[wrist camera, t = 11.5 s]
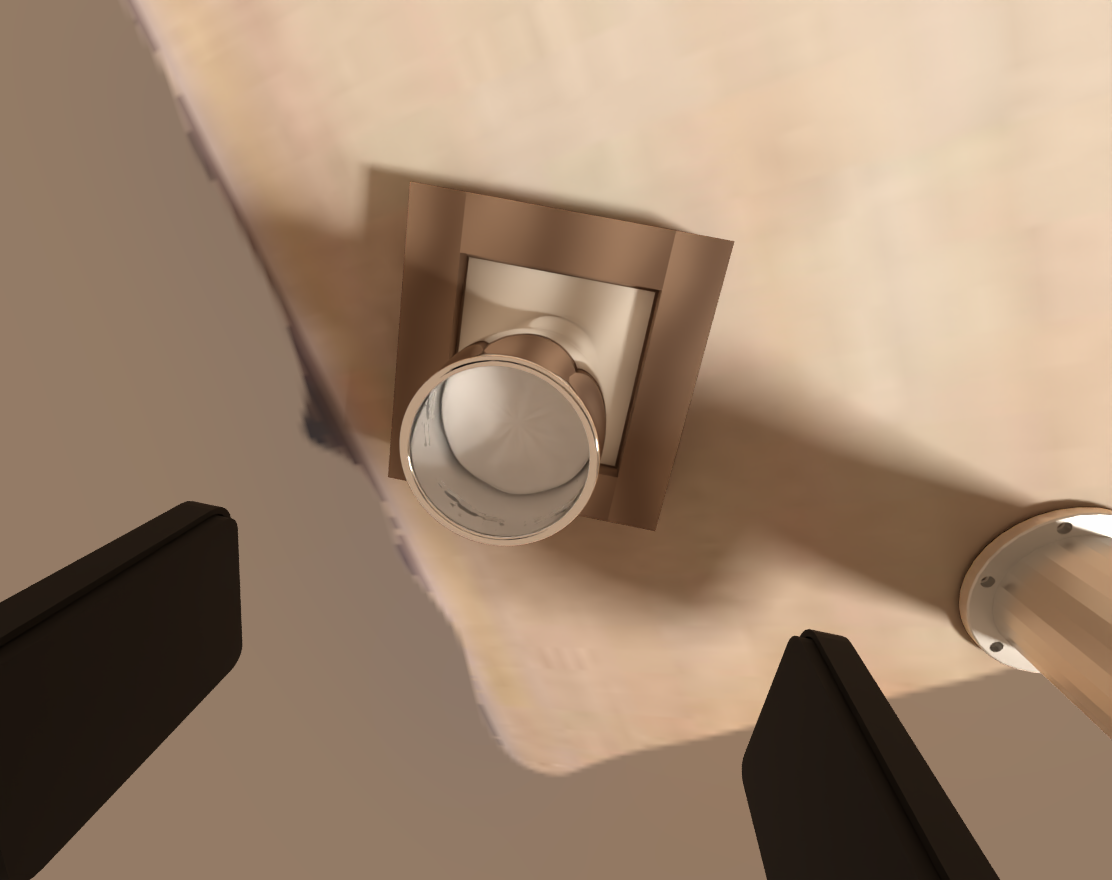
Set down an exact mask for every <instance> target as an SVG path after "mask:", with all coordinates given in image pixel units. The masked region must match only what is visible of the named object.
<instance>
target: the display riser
mask: <svg viewBox="0 0 1112 880" xmlns="http://www.w3.org/2000/svg"><path fill="white" fill-rule="evenodd" d="M733 245H734V241H730V240H724V239H719V238H713V237H708V236H703V235H697V234H692V233H686V232H681V231H676V230H670V229H665V228H659V227H654V226H649V225H643V224H638V223H633V222H627V221H622V220H616V219H611V218H606V217H600V216H595V215H589V214H584V213H579V212H573V211H568V210H562V209H557V208H552V207H546V206H541V205H535V204H530V203H525V202H519V201H514V200H508V199H503V198H498V197H492V196H487V195H482V194H476V193H471V192H465V191H460V190H455V189H449V188H444V187H438V186H433V185H428V184H422V183H417V182H411V181H410V188H409V202H408V216H407V229H406V243H405V256H404V270H403V283H402V297H401V310H400V324H399V337H398V351H397V364H396V378H395V391H394V405H393V418H392V432H391V445H390V459H389V472H388V477H390V478H395V479H400V480H405V481H407V480H406V477H405V474H404V471H403V468H402V464H401V458H400V448H399V439H400V430H401V425H402V421H403V418H404V415H405V412H406V410H407V407H408V405H409V403H410V401H411V400H412V398H413V396H414V395H415V393H416V392H417V391H418V389H419V388H420V387H421V386H422V385H423V384H424V383H425V382H426V381H427V380H428V379H429V378H430V377H431V376H433V375H434V374H435V373H436V372H437V371H438V370H439V369H440V368H441V367H442V366H443V365H444V364H445V363H446V362H447V361H448V360H449V359H450V358H452V357H453V356H454V355H455V354H457V353H458V352H459V351H461V350H462V349H463V348H465V347H466V346H467V345H469V344H471V343H472V342H474V341H476V340H478V339H480V338H482V337H485V336H487V335H489V334H492V333H494V332H497V331H501V330H506V329H513V328H514V327H515V326H516V325H518V324H519V323H521V322H523V321H525V320H527V319H529V318H533V317H537V316H557V317H561V318H564V319H567V320H569V321H571V322H573V323H574V324H576V325H577V326H579V327H580V328H581V329H582V330H583V331H584V332H585V333H586V334H587V335H588V337H589V338H590V339H591V341H592V343H593V345H594V347H595V349H596V352H597V355H598V360H599V376H598V378H599V380H600V383H601V385H602V389H603V392H604V397H605V404H606V413H607V427H606V437H605V444H604V449H603V454H602V458H601V462H600V467H599V474H598V478H597V482H596V485H595V488H594V490H593V493H592V495H591V497H590V499H589V501H588V502H587V504H586V505H585V507H584V508H583V510H582V511H581V512H580V513H579V515H578V516H583V517H588V518H593V519H598V520H603V521H608V522H613V523H618V524H623V525H628V526H633V527H638V528H643V529H648V530H653V531H655V530H656V526H657V522H658V519H659V515H660V511H661V508H662V504H663V500H664V497H665V493H666V489H667V486H668V482H669V478H670V475H671V471H672V468H673V464H674V460H675V457H676V453H677V449H678V446H679V442H680V438H681V435H682V431H683V427H684V424H685V420H686V416H687V413H688V409H689V405H690V402H691V398H692V394H693V391H694V387H695V383H696V380H697V376H698V372H699V369H700V365H701V362H702V358H703V354H704V351H705V347H706V343H707V340H708V336H709V332H710V329H711V325H712V321H713V318H714V314H715V310H716V307H717V303H718V299H719V296H720V292H721V288H722V285H723V281H724V277H725V274H726V270H727V266H728V263H729V259H730V255H731V252H732V248H733Z"/></svg>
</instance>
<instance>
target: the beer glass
mask: <svg viewBox="0 0 1112 880" xmlns="http://www.w3.org/2000/svg"><path fill="white" fill-rule="evenodd" d="M598 376H599V360H598V355H597V352H596V349H595V347H594V345H593V343H592V341H591V339H590V338H589V337H588V335H587V334H586V333H585V332H584V331H583V330H582V329H581V328H580V327H579V326H577V325H576V324H574V323H573V322H571V321H569V320H567V319H564V318H561V317H557V316H537V317H533V318H529V319H527V320H525V321H523V322H521V323H519V324H518V325H516V326H515V327H514V328H513V329H506V330H501V331H497V332H494V333H492V334H489V335H487V336H485V337H482V338H480V339H478V340H476V341H474V342H472V343H471V344H469V345H467V346H466V347H465V348H463V349H462V350H461V351H459V352H458V353H457V354H455V355H454V356H453V357H452V358H450V359H449V360H448V361H447V362H446V363H445V364H444V365H443V366H442V367H441V368H440V369H439V370H438V371H437V372H436V373H435V374H434V375H433V376H431V377H430V378H429V379H428V380H427V381H426V382H425V383H424V384H423V385H422V386H421V387H420V388H419V389H418V391H417V392H416V393H415V395H414V396H413V398H412V400H411V401H410V403H409V405H408V407H407V410H406V412H405V415H404V418H403V421H402V425H401V430H400V439H399V448H400V458H401V464H402V468H403V471H404V474H405V477H406V480H407V482H408V484H409V486H410V488H411V490H412V492H413V494H414V495H415V497H416V498H417V500H418V501H419V503H420V504H421V505H422V506H423V508H424V509H425V510H426V511H427V512H428V513H429V514H430V515H431V516H432V517H433V518H434V519H435V520H437V521H438V522H439V523H440V524H442V525H443V526H444V527H446V528H447V529H449V530H451V531H452V532H454V533H456V534H458V535H460V536H462V537H465V538H467V539H470V540H472V541H476V542H479V543H483V544H488V545H496V546H518V545H525V544H530V543H534V542H537V541H540V540H543V539H545V538H547V537H550V536H552V535H554V534H555V533H557V532H559V531H560V530H562V529H563V528H565V527H566V526H567V525H568V524H570V523H571V522H572V521H573V520H574V519H575V518H576V517H577V516H578V515H579V513H580V512H581V511H582V510H583V508H584V507H585V505H586V504H587V502H588V501H589V499H590V497H591V495H592V493H593V490H594V488H595V485H596V482H597V478H598V474H599V467H600V462H601V458H602V454H603V449H604V444H605V437H606V427H607V413H606V404H605V397H604V392H603V389H602V385H601V383H600V380H599V378H598Z"/></svg>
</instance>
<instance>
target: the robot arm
mask: <svg viewBox="0 0 1112 880" xmlns="http://www.w3.org/2000/svg"><path fill="white" fill-rule="evenodd" d="M959 609H960V616H961V620H962V622H963V624H964V627H965V629H966V631H967V633H968V634H969V635H970V636H971V638H972V639H973V640H974V641H975V643H976V644H977V645H978V646H979V647H980V648H981V649H982V650H983V651H984V652H985V653H986V654H988V655H989V656H991V657H992V658H994V659H995V660H997V661H999V662H1000V663H1002V664H1005V665H1007V666H1010V667H1012V668H1015V669H1018V670H1023V671H1028V672H1033V673H1042V674H1043V675H1044V676H1045V677H1046V678H1047V679H1048V680H1049V681H1050V682H1051V683H1052V684H1053V685H1054V686H1055V687H1056V688H1057V689H1058V690H1060V691H1061V692H1062V693H1063V694H1064V695H1065V696H1066V697H1067V698H1068V699H1069V700H1070V701H1071V702H1072V703H1073V704H1074V705H1075V706H1076V707H1077V708H1079V709H1080V710H1081V711H1082V712H1083V713H1084V714H1085V715H1086V716H1087V717H1088V718H1089V719H1090V720H1091V721H1092V722H1093V723H1094V724H1096V725H1097V726H1098V727H1099V728H1100V729H1101V730H1102V731H1103V732H1104V733H1105V734H1106V735H1107V736H1108V737H1109V738H1110V739H1111V740H1112V510H1108V509H1103V508H1091V507H1076V508H1068V509H1060V510H1055V511H1052V512H1048V513H1045V514H1041V515H1037V516H1035V517H1033V518H1030V519H1028V520H1026V521H1023V522H1021V523H1019V524H1017V525H1015V526H1014V527H1012V528H1010V529H1009V530H1007V531H1006V532H1004V533H1002V534H1001V535H999V536H998V537H997V538H996V539H995V540H994V541H992V542H991V543H990V544H989V545H988V546H986V547H985V549H984V550H983V551H982V552H981V553H980V554H979V556H978V557H977V558H976V559H975V560H974V561H973V563H972V565H971V567H970V568H969V570H968V572H967V574H966V575H965V578H964V581H963V584H962V587H961V590H960V598H959ZM241 650H242V626H241V600H240V575H239V550H238V527H237V523H236V521H235V520H234V519H232V518H231V517H230V514H229V512H228V511H227V510H226V509H225V508H223V507H218V506H213V505H208V504H203V503H199V502H194V501H187V502H184V503H181V504H180V505H178V506H176V507H174V508H172V509H170V510H169V511H167V512H165V513H163V514H161V515H159V516H158V517H156V518H154V519H152V520H150V521H148V522H147V523H145V524H143V525H141V526H139V527H138V528H136V529H134V530H132V531H130V532H128V533H127V534H125V535H123V536H121V537H119V538H117V539H116V540H114V541H112V542H110V543H108V544H107V545H105V546H103V547H101V548H99V549H97V550H95V551H94V552H92V553H90V554H88V555H87V556H84V557H83V558H81V559H79V560H77V561H75V562H73V563H72V564H70V565H68V566H66V567H64V568H63V569H61V570H59V571H57V572H55V573H54V574H52V575H50V576H48V577H46V578H44V579H42V580H41V581H39V582H37V583H35V584H33V585H31V586H30V587H28V588H26V589H24V590H22V591H21V592H19V593H17V594H15V595H13V596H11V597H10V598H8V599H6V600H4V601H2V602H1V603H0V880H30V879H31V878H33V877H34V876H35V875H36V874H37V873H38V872H39V871H41V870H42V869H43V868H44V867H45V865H46V864H47V863H48V862H49V861H50V860H51V859H52V858H53V857H54V856H55V855H56V854H57V853H58V852H59V851H60V850H61V849H62V848H63V847H64V845H65V844H66V843H67V842H68V841H69V840H70V839H71V838H72V837H73V836H74V835H75V834H76V833H77V832H78V831H79V830H80V829H81V827H83V826H84V824H85V823H86V822H87V821H88V820H89V819H90V818H91V817H92V816H93V815H94V814H95V813H96V812H97V811H98V810H99V808H101V807H102V806H103V804H104V803H105V802H106V801H107V800H108V799H109V798H110V797H111V796H112V795H113V794H114V793H115V792H116V791H117V790H118V789H119V788H120V787H121V786H122V784H123V783H124V782H125V781H126V780H127V779H128V778H129V777H130V776H131V775H132V774H133V773H134V772H135V771H136V770H137V769H138V768H139V767H140V766H141V764H142V763H143V762H144V761H145V760H146V759H147V758H148V757H149V756H150V755H151V754H152V753H153V752H154V751H155V750H156V749H157V748H158V747H159V745H160V744H161V743H162V742H163V741H164V740H165V739H166V738H167V737H168V736H169V735H170V734H171V733H172V732H173V731H174V730H175V729H176V728H177V727H178V725H179V724H180V723H181V722H182V721H183V720H184V719H185V718H186V717H187V716H188V715H189V714H190V713H191V712H192V711H193V710H194V709H195V708H196V706H197V705H198V704H199V703H200V702H201V701H202V700H203V699H204V698H205V697H206V696H207V695H208V694H209V693H210V692H211V691H212V689H214V688H215V686H216V685H217V684H218V683H219V682H220V681H221V680H222V679H223V678H224V677H225V676H226V675H227V674H228V673H229V672H230V671H231V670H232V668H233V667H234V666H235V664H236V663H237V661H238V659H239V657H240V654H241ZM742 779H743V784H744V789H745V793H746V797H747V801H748V805H749V809H750V813H751V817H752V821H753V825H754V829H755V833H756V837H757V841H758V845H759V849H760V853H761V857H762V861H763V865H764V869H765V873H766V877H767V880H1000V879H999V877H998V876H997V874H996V873H995V871H994V869H993V868H992V867H991V865H990V863H989V862H988V860H987V858H986V857H985V855H984V854H983V852H982V850H981V849H980V847H979V846H978V844H977V842H976V841H975V839H974V838H973V836H972V834H971V833H970V831H969V830H968V828H967V827H966V825H965V823H964V822H963V820H962V819H961V817H960V815H959V814H958V812H957V811H956V809H955V807H954V806H953V804H952V803H951V801H950V799H949V798H948V796H947V795H946V793H945V792H944V790H943V789H942V787H941V785H940V784H939V782H938V780H937V779H936V777H935V776H934V774H933V773H932V771H931V769H930V768H929V766H928V765H927V763H926V761H925V760H924V758H923V757H922V755H921V753H920V752H919V750H918V749H917V748H916V745H915V744H914V742H913V741H912V739H911V737H910V736H909V735H908V733H907V731H906V730H905V728H904V726H903V725H902V723H901V722H900V720H899V718H898V717H897V715H896V714H895V712H894V710H893V709H892V707H891V706H890V704H889V702H888V701H887V699H886V698H885V696H884V695H883V693H882V691H881V690H880V688H879V687H878V685H877V683H876V682H875V680H874V679H873V677H872V675H871V674H870V672H869V671H868V669H867V668H866V666H865V664H864V663H863V661H862V660H861V658H860V656H859V655H858V653H857V652H856V650H855V648H854V647H853V645H852V644H851V642H850V641H849V640H848V639H847V638H845V637H843V636H839V635H834V634H830V633H825V632H820V631H815V630H810V629H808V630H805V631H804V632H803V633H802V634H801V635H800V637H799V636H792V637H791V638H790V640H789V642H788V644H787V646H786V649H785V651H784V654H783V657H782V659H781V662H780V664H779V667H778V669H777V672H776V675H775V677H774V680H773V682H772V685H771V687H770V690H769V693H768V695H767V698H766V700H765V703H764V705H763V708H762V711H761V713H760V716H759V718H758V721H757V723H756V726H755V728H754V731H753V734H752V736H751V739H750V741H749V744H748V746H747V749H746V752H745V754H744V757H743V762H742Z"/></svg>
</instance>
